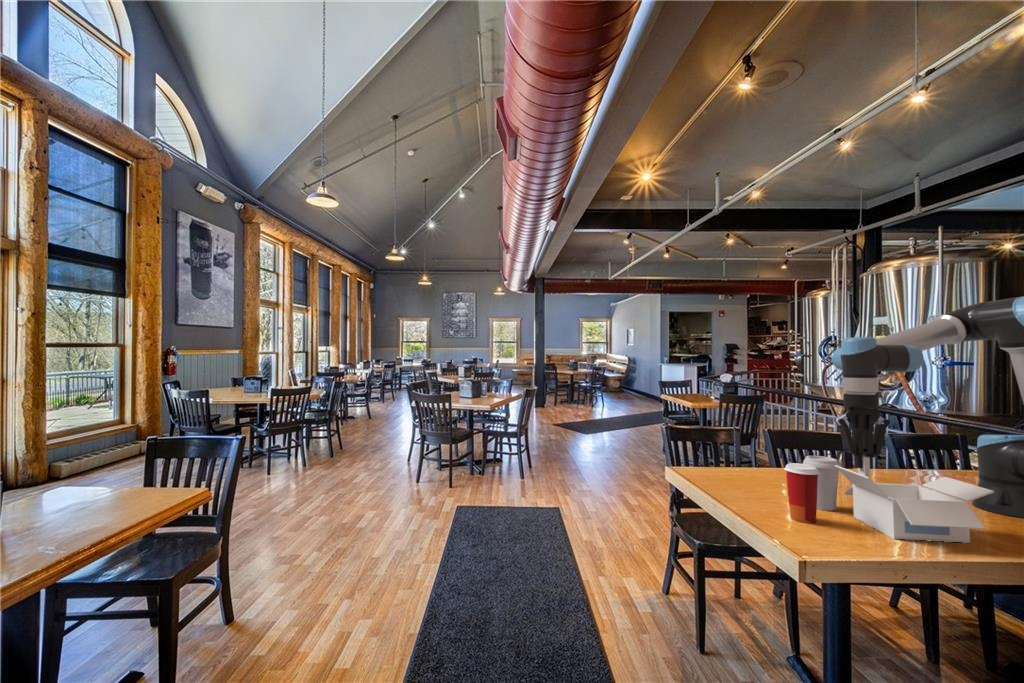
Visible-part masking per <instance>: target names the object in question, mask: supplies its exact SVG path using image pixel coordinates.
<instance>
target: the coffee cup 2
mask: <svg viewBox="0 0 1024 683" xmlns="http://www.w3.org/2000/svg"><path fill="white" fill-rule="evenodd" d="M802 464H807V465H811V466H815V467H816V468H817V470H818V472H819V474H818V486H817V510H819V509H821V510H820V511H824V510H830V511H829V512H834V511H833V510H835V511H837V502H838V501H837V499H838V498H837V497H838V486H839V485H838V484H839V472H840V471H839V470H838V469H837V468H836V467H835V465H837V466H839V467H842V466H841V464H840V463H839V461H838V459H836V458H834V457H830V456H829V457H827V456H824V455H822V456H821V455H806V456H805V457H804V459H803V462H802Z"/></svg>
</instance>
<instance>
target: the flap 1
mask: <svg viewBox="0 0 1024 683" xmlns="http://www.w3.org/2000/svg"><path fill="white" fill-rule="evenodd" d="M835 467H836V468H837V469H838V470H839V472H840V473H841V475H843V476H844V477H845V478H846V479H847V480H848V481H849V482H850V483H851V485H853V484H855V485H857V486H860V487H862V488H865V489H867V490H869V491H872V492H874V493H877V494H879V495H882V496H884V497H886V498H888V496H887V495H886V494H885V493H884V492H883V491H882V490H881V489H880V488H879V487H878V486H877V485H876V484H875V483H876V482H874V481H873V480H872V478H871V477H870V478H869V477H867V476H864V475H861V474H858V472H856V471H853V470H850V469H847V468H844V467H842V466H841V467H839V466H837V465H835Z"/></svg>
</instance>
